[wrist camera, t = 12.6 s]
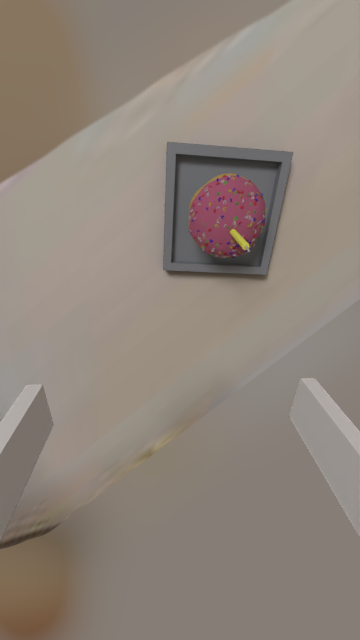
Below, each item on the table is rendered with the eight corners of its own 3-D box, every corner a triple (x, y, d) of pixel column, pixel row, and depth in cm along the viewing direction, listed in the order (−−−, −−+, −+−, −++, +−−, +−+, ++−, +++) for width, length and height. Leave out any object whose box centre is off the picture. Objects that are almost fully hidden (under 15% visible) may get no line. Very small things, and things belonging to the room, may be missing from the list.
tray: (163, 266, 35) (163, 270, 33) (167, 144, 29) (167, 141, 27) (262, 271, 36) (266, 274, 34) (286, 154, 30) (293, 152, 28)
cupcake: (257, 238, 33) (300, 260, 22) (195, 258, 34) (208, 288, 23) (245, 165, 29) (291, 150, 19) (176, 189, 30) (181, 187, 19)
